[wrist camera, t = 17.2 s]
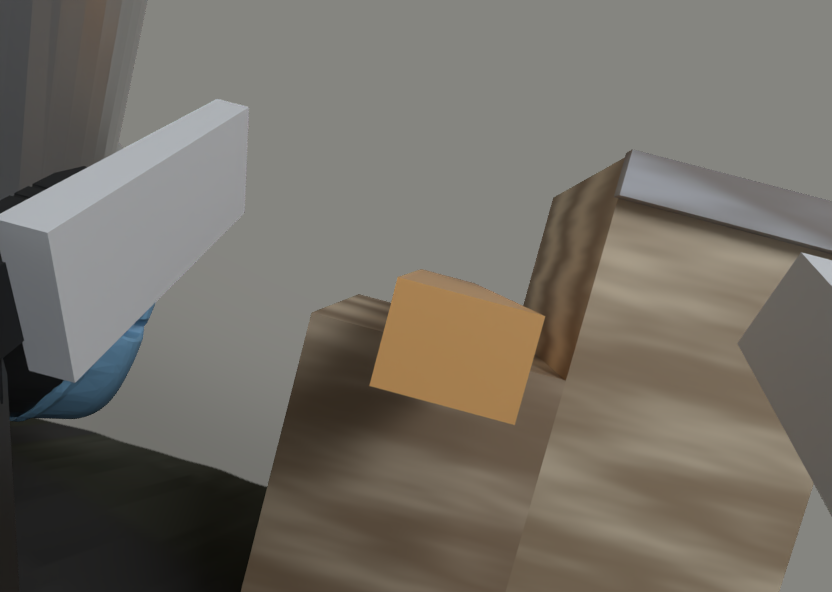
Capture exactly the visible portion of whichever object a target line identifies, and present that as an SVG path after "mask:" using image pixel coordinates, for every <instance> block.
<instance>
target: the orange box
mask: <svg viewBox="0 0 832 592" xmlns="http://www.w3.org/2000/svg"><path fill="white" fill-rule="evenodd" d="M544 319H545V316H544V315H542V314H539V313H537V312H535V311H533V310H531V309H529V308H526V307H524V306H522V305H520V304H518V303H516V302H514V301H511V300H509V299H507V298H505V297H503V296H500V295H498V294H496V293H494V292H492V291H490V290H488V289H486V288H483V287H481V286H479V285H477V284H475V283H471V282H467V281H463V280H460V279H456V278H453V277H449V276H445V275H441V274H437V273H434V272H430V271H426V270H422V269H420V270H418V271H415V272H411V273H409V274H406V275H403V276H400V277H398V279H397V283H396V286H395V290H394V294H393V298H392V301H391V305H390V309H389V313H388V317H387V320H386V324H385V328H384V332H383V336H382V339H381V343H380V347H379V351H378V355H377V358H376V362H375V366H374V370H373V374H372V377H371V381H370V385H369V386H372V387H376V388H379V389H383V390H387V391H390V392H394V393H398V394H401V395H405V396H409V397H413V398H416V399H420V400H424V401H427V402H431V403H435V404H438V405H442V406H446V407H450V408H453V409H457V410H461V411H464V412H468V413H472V414H475V415H479V416H483V417H487V418H490V419H494V420H498V421H501V422H505V423H509V424H513V425H515V422H516V419H517V415H518V412H519V408H520V405H521V401H522V398H523V394H524V390H525V387H526V383H527V380H528V376H529V373H530V369H531V366H532V362H533V358H534V355H535V351H536V348H537V344H538V341H539V337H540V334H541V330H542V326H543V323H544Z"/></svg>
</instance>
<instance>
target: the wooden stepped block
mask: <svg viewBox="0 0 832 592" xmlns="http://www.w3.org/2000/svg"><path fill="white" fill-rule="evenodd" d="M801 252H802V253H806V254H810V255H813V256H817V257H821V258H825V259H829V260H832V201H829V200H826V199H822V198H818V197H814V196H810V195H806V194H802V193H799V192H795V191H791V190H787V189H783V188H779V187H775V186H772V185H768V184H764V183H760V182H756V181H752V180H749V179H745V178H741V177H737V176H733V175H729V174H726V173H721V172H718V171H714V170H710V169H706V168H702V167H699V166H695V165H691V164H687V163H683V162H679V161H676V160H672V159H668V158H664V157H660V156H656V155H652V154H649V153H645V152H641V151H637V150H631V151H629V152H627V153H626V156H625V158H623V159H621V160H620V161H618V162H616V163H614V164H612V165H611V166H609V167H607V168H605V169H604V170H602V171H600V172H598V173H596V174H595V175H593V176H591V177H589V178H588V179H586V180H584V181H582V182H580V183H579V184H577V185H575V186H573V187H572V188H570V189H568V190H566V191H565V192H563V193H561V194H559V195H557V196H556V197H554V198H553V201H552V205H551V208H550V212H549V215H548V219H547V223H546V226H545V230H544V233H543V237H542V241H541V244H540V248H539V251H538V255H537V258H536V262H535V266H534V269H533V273H532V276H531V280H530V284H529V288H528V291H527V294H526V298H525V302H524V305H523V306H524V307H526V308H529V309H531V310H533V311H535V312H537V313H539V314H542V315H544V316H545V319H544V323H543V326H542V330H541V334H540V337H539V341H538V344H537V348H536V351H535V355H534V358H533V362H532V366H531V369H530V373H529V376H528V380H527V383H526V387H525V390H524V394H523V398H522V401H521V405H520V408H519V412H518V415H517V419H516V422H515V425H513V424H509V423H505V422H501V421H498V420H494V419H490V418H487V417H483V416H479V415H475V414H472V413H468V412H464V411H461V410H457V409H453V408H450V407H446V406H442V405H438V404H435V403H431V402H427V401H424V400H420V399H416V398H413V397H409V396H405V395H401V394H398V393H394V392H390V391H387V390H383V389H379V388H376V387H372V386H369V385H370V381H371V377H372V374H373V370H374V366H375V362H376V358H377V355H378V351H379V347H380V343H381V339H382V336H383V332H384V328H385V324H386V320H387V317H388V313H389V309H390V305H391V303H390V302H386V301H382V300H379V299H375V298H371V297H368V296H363V295H360V294H358V295H356V296H353V297H351V298H348V299H345V300H343V301H340V302H338V303H335V304H333V305H330V306H327V307H325V308H322V309H320V310H317V311H315V312H312V313H311V317H310V322H309V325H308V329H307V333H306V337H305V341H304V345H303V349H302V353H301V356H300V361H299V365H298V369H297V372H296V377H295V380H294V385H293V388H292V392H291V396H290V400H289V404H288V408H287V412H286V416H285V419H284V424H283V427H282V431H281V435H280V439H279V443H278V447H277V451H276V455H275V459H274V463H273V467H272V471H271V475H270V479H269V483H268V486H267V490H266V494H265V498H264V502H263V506H262V510H261V514H260V518H259V522H258V526H257V530H256V534H255V538H254V542H253V546H252V549H251V553H250V557H249V561H248V565H247V569H246V573H245V577H244V581H243V585H242V589H241V592H779V591H780V588H781V585H782V581H783V578H784V575H785V572H786V569H787V566H788V563H789V560H790V556H791V553H792V550H793V547H794V544H795V541H796V538H797V534H798V531H799V528H800V525H801V522H802V519H803V516H804V512H805V509H806V506H807V503H808V500H809V497H810V494H811V491H812V487H813V484H814V483H813V481H812V479H811V477H810V476H809V474H808V472H807V470H806V468H805V466H804V465H803V463H802V461H801V459H800V457H799V455H798V454H797V452H796V450H795V448H794V446H793V444H792V443H791V441H790V439H789V437H788V435H787V434H786V432H785V430H784V428H783V426H782V424H781V423H780V421H779V419H778V417H777V415H776V413H775V412H774V410H773V408H772V406H771V404H770V402H769V401H768V399H767V397H766V395H765V393H764V391H763V390H762V388H761V386H760V384H759V382H758V380H757V379H756V377H755V375H754V373H753V371H752V369H751V368H750V366H749V364H748V362H747V360H746V358H745V357H744V355H743V353H742V351H741V349H740V347H739V346H738V344H737V343H738V342H739V340H740V339H741V338H742V336H743V335H744V333H745V332H746V330H747V329H748V328H749V326H750V325H751V323H752V322H753V320H754V319H755V317H756V316H757V315H758V313H759V312H760V310H761V309H762V307H763V306H764V305H765V303H766V302H767V300H768V299H769V297H770V296H771V294H772V293H773V292H774V290H775V289H776V287H777V286H778V284H779V283H780V282H781V280H782V279H783V277H784V276H785V274H786V273H787V272H788V270H789V269H790V267H791V266H792V264H793V263H794V261H795V260H796V259H797V257H798V256H799V254H800V253H801Z"/></svg>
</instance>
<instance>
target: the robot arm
mask: <svg viewBox="0 0 832 592" xmlns="http://www.w3.org/2000/svg"><path fill="white" fill-rule="evenodd" d="M146 5H147V0H0V592H19V577H18V559H17V542H16V524H15V506H14V488H13V470H12V453H11V435H10V421H17V422H18V421H24V420H27V419H30V418H56V419H77V418H82V417H86V416H89V415H91V414H93V413H95V412H97V411H99V410H100V409H102V408H103V407H104V406H105V405H107V404H108V403H109V401H110V400H111V399H112V398H113V396H115V394H116V393H117V391H118V390H119V388H120V387H121V385H122V383H123V381H124V380H125V378H126V376H127V374H128V372H129V370H130V368H131V366H132V364H133V362H134V360H135V357H136V355H137V352H138V350H139V347H140V345H141V342H142V339H143V332H144V326H145V324H146V323H147V321H148V319H149V318H150V315H151V313H152V310H153V308H154V306H155V302H156V301H157V300H158V299H159V298H160V297H161V296H162V295H163V294H164V293H165V292H166V291H167V290H168V289H169V288H170V287H171V286H172V285H173V284H174V283H175V282H176V281H177V280H178V279H179V278H180V277H181V276H182V275H183V274H184V273H185V272H186V271H187V270H188V269H189V268H190V267H191V266H192V265H193V264H194V263H195V262H196V261H197V260H198V259H199V258H200V257H201V256H202V255H203V254H204V253H205V252H206V251H207V250H208V249H209V248H210V247H211V246H212V245H213V244H214V243H215V242H216V241H217V240H218V239H219V238H220V237H221V236H222V235H223V234H224V233H225V232H226V231H227V230H228V229H229V228H230V227H231V226H232V225H233V224H234V223H235V222H236V221H237V220H238V219H239V218H240V217H241V216H242V215H243V214H244V213H245V187H246V165H247V164H246V163H247V141H248V140H247V139H248V117H249V107H246V106H243V105H239V104H235V103H231V102H227V101H224V100H220V99H216V100H214V101H212V102H210V103H208V104H206V105H204V106H202V107H201V108H199V109H197V110H195V111H193V112H191V113H189V114H187V115H186V116H184V117H182V118H180V119H178V120H176V121H174V122H172V123H170V124H169V125H167V126H165V127H163V128H161V129H159V130H158V131H155V132H153V133H152V134H150V135H148V136H146V137H144V138H142V139H140V140H138V141H136V142H135V143H133V144H131V145H129V146H127V147H125V148H123V147H122V145H121V144H120V143H119V137H120V132H121V127H122V122H123V117H124V113H125V108H126V103H127V98H128V93H129V88H130V83H131V78H132V73H133V69H134V63H135V58H136V54H137V49H138V44H139V39H140V34H141V29H142V24H143V20H144V15H145V9H146ZM737 344H738V346H739V347H740V349H741V351H742V353H743V355H744V357H745V358H746V360H747V362H748V364H749V366H750V368H751V369H752V371H753V373H754V375H755V377H756V379H757V380H758V382H759V384H760V386H761V388H762V390H763V391H764V393H765V395H766V397H767V399H768V401H769V402H770V404H771V406H772V408H773V410H774V412H775V413H776V415H777V417H778V419H779V421H780V423H781V424H782V426H783V428H784V430H785V432H786V434H787V435H788V437H789V439H790V441H791V443H792V444H793V446H794V448H795V450H796V452H797V454H798V455H799V457H800V459H801V461H802V463H803V465H804V466H805V468H806V470H807V472H808V474H809V476H810V477H811V479H812V481H813V483H814V485H815V487H816V488H817V490H818V492H819V494H820V496H821V497H822V499H823V501H824V503H825V505H826V506H827V508H828V510H829V512H830V514H831V516H832V260H829V259H825V258H821V257H817V256H813V255H810V254H806V253H802V252H801V253H800V254H799V256H798V257H797V259H796V260H795V261H794V263H793V264H792V266H791V267H790V269H789V270H788V272H787V273H786V274H785V276H784V277H783V279H782V280H781V282H780V283H779V284H778V286H777V287H776V289H775V290H774V292H773V293H772V294H771V296H770V297H769V299H768V300H767V302H766V303H765V305H764V306H763V307H762V309H761V310H760V312H759V313H758V315H757V316H756V317H755V319H754V320H753V322H752V323H751V325H750V326H749V328H748V329H747V330H746V332H745V333H744V335H743V336H742V338H741V339H740V340H739V342H738V343H737Z"/></svg>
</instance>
